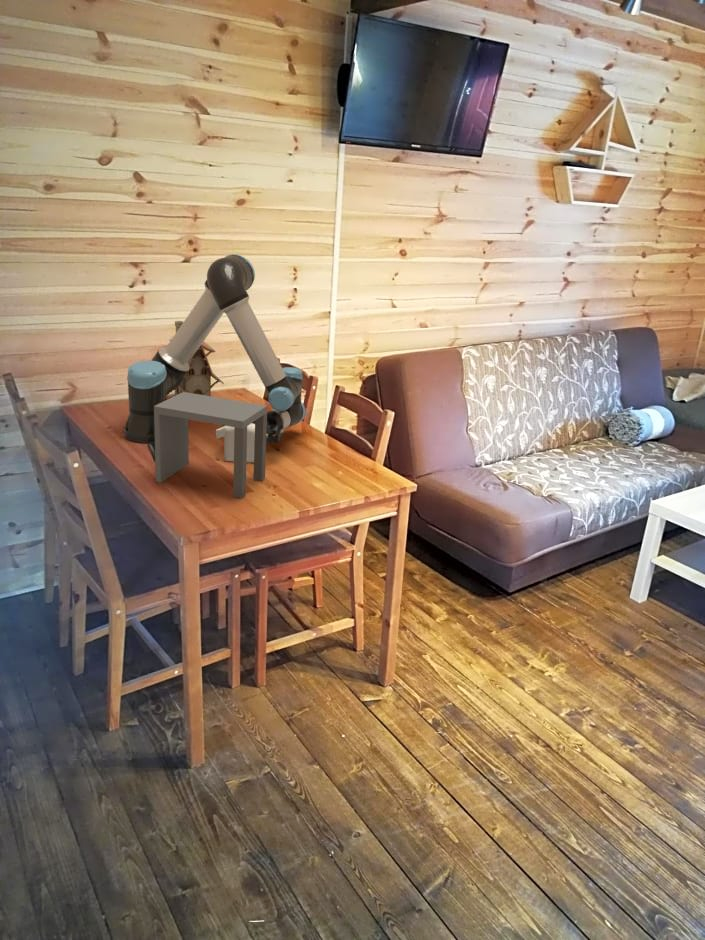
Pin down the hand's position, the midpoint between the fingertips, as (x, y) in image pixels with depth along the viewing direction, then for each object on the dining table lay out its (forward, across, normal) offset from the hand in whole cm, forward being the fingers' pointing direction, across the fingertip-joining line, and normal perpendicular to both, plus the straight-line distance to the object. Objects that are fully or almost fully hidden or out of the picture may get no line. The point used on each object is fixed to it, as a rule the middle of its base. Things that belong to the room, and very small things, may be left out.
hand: (235, 439), depth 215 cm
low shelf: (+14, -2, -8) cm, 16 cm away
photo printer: (-3, 0, -8) cm, 9 cm away
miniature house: (-36, +43, -8) cm, 57 cm away
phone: (+6, +22, -8) cm, 25 cm away
